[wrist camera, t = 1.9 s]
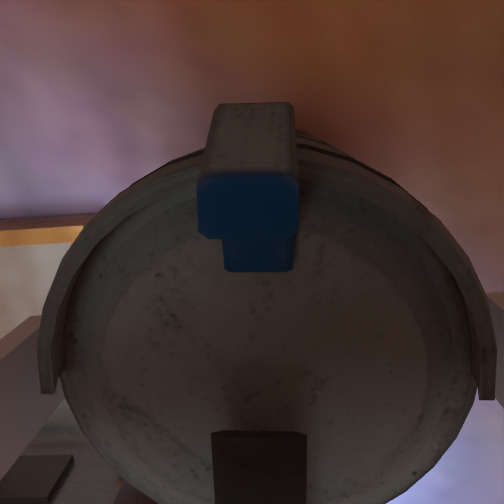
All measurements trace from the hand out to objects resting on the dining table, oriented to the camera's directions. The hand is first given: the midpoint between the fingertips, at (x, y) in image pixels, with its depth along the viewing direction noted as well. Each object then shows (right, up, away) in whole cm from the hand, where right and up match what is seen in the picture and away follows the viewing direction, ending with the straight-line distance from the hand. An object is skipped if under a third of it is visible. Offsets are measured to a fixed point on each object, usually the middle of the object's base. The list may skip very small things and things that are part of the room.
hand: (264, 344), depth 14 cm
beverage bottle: (+1, +5, +17) cm, 18 cm away
